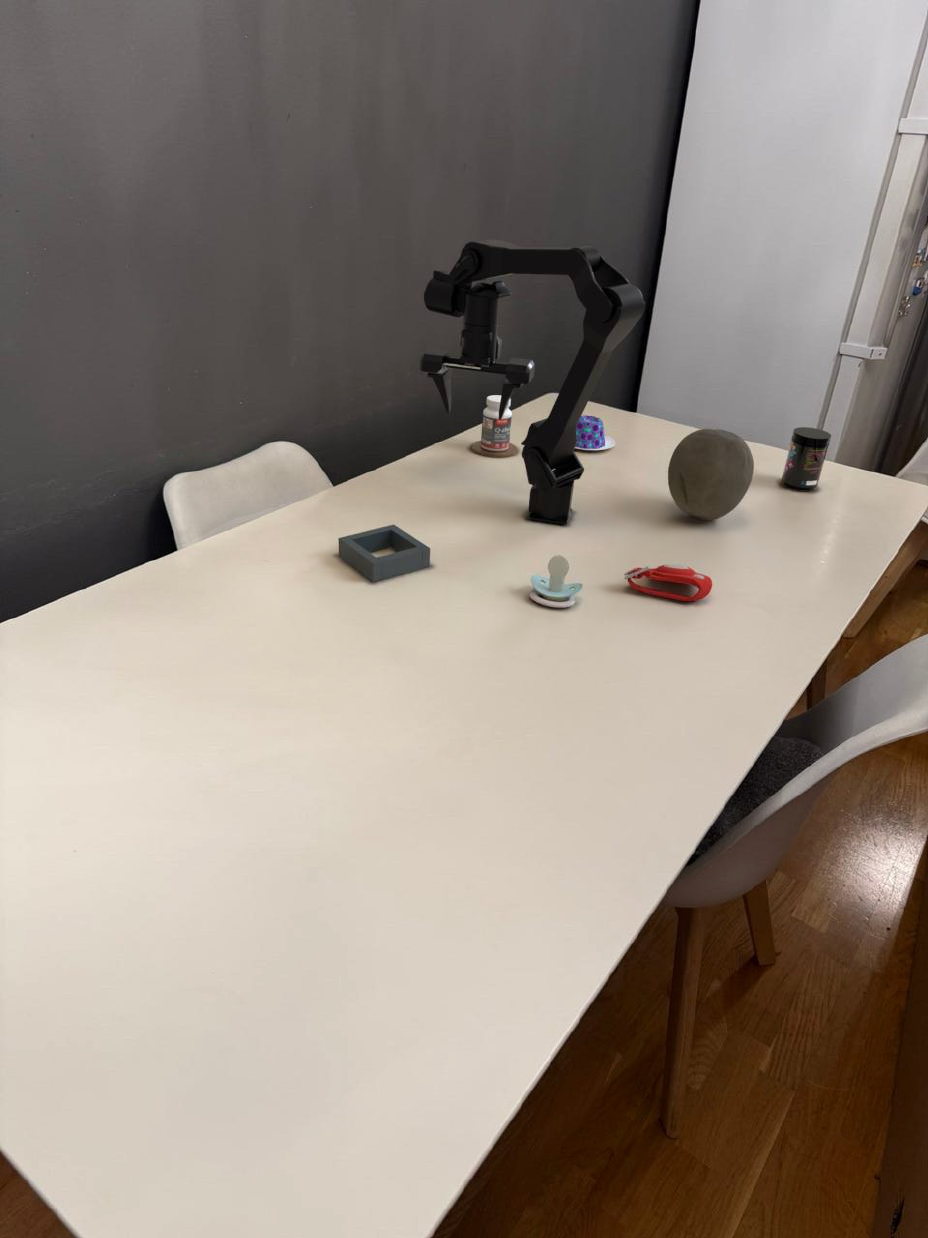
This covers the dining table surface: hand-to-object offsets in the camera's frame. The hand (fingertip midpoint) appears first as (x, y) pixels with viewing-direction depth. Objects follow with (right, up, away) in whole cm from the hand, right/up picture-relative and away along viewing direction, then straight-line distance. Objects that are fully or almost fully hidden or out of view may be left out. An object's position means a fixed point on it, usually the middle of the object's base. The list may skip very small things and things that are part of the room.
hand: (474, 415), depth 153 cm
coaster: (+4, -1, +24) cm, 25 cm away
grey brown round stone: (+40, -17, +1) cm, 43 cm away
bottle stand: (-14, -27, -21) cm, 37 cm away
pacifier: (+11, -33, -28) cm, 45 cm away
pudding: (+24, +1, +31) cm, 39 cm away
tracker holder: (+27, -31, -24) cm, 48 cm away
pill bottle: (+4, -1, +24) cm, 24 cm away
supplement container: (+62, -10, +16) cm, 65 cm away
